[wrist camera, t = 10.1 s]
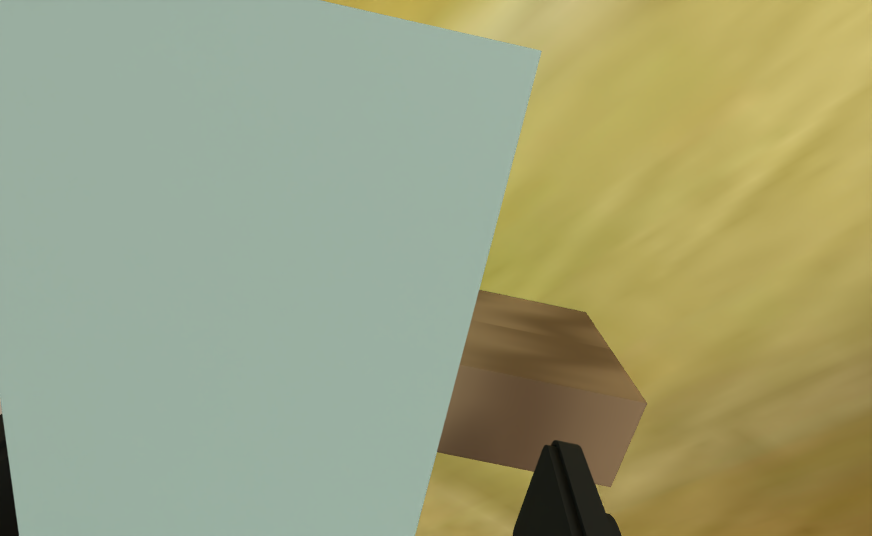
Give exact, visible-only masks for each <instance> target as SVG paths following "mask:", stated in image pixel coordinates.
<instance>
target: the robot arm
mask: <svg viewBox="0 0 872 536" xmlns="http://www.w3.org/2000/svg"><path fill="white" fill-rule="evenodd" d="M0 536H19V531H18V524H17V517H16V509H15V502H14V495H13V487H12V480H11V473H10V466H9V458H8V451H7V444H6V437H5V429H4V422H3V415H2V414H1V415H0ZM513 536H621V533H620V530H619V528H618V525H617V523H616V521H615V519H614V518H613V517H612V516H611V515H610V514H607V513H605V510H604V507H603V505H602V502H601V499H600V497H599V494H598V491H597V488H596V486H595V483H594V480H593V478H592V475H591V472H590V469H589V467H588V464H587V461H586V459H585V456H584V453H583V450H582V448H581V446H579V445H578V444H573V443H568V442H563V441H558V440H554V441H553V442H552V444H551V446H550V445H544V447H543V449H542V451H541V454H540V457H539V460H538V462H537V465H536V468H535V471H534V474H533V476H532V479H531V482H530V485H529V488H528V490H527V493H526V496H525V499H524V502H523V504H522V507H521V510H520V513H519V516H518V519H517V521H516V524H515V527H514V530H513Z"/></svg>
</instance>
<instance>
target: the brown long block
mask: <svg viewBox="0 0 872 536" xmlns="http://www.w3.org/2000/svg"><path fill="white" fill-rule="evenodd" d="M646 405H647V402H646V401H645V400H644V398H643V397H642V395H641V394H640V392H639V391H638V389H637V388H636V386H635V385H634V383H633V382H632V380H631V379H630V377H629V376H628V374H627V373H626V371H625V370H624V368H623V367H622V365H621V364H620V362H619V361H618V359H617V358H616V356H615V355H614V353H613V352H612V351H611V349H610V348H609V346H608V345H607V343H606V342H605V340H604V339H603V337H602V336H601V334H600V333H599V331H598V330H597V328H596V327H595V325H594V324H593V322H592V321H591V319H590V318H589V316H588V315H587V313H586V312H581V311H577V310H572V309H567V308H562V307H558V306H553V305H548V304H543V303H539V302H534V301H529V300H525V299H520V298H515V297H510V296H506V295H501V294H496V293H491V292H487V291H482V290H479V292H478V296H477V300H476V304H475V308H474V311H473V315H472V319H471V323H470V327H469V331H468V334H467V338H466V342H465V346H464V350H463V353H462V357H461V361H460V365H459V369H458V373H457V376H456V380H455V384H454V388H453V392H452V396H451V399H450V403H449V407H448V411H447V415H446V419H445V422H444V426H443V430H442V434H441V438H440V441H439V445H438V449H437V452H439V453H444V454H449V455H454V456H459V457H464V458H469V459H474V460H479V461H484V462H489V463H494V464H499V465H504V466H509V467H514V468H519V469H523V470H528V471H533V472H534V471H535V468H536V465H537V462H538V460H539V457H540V454H541V451H542V449H543V447H544V445H550V446H551V444H552V442H553V441H554V440H558V441H563V442H568V443H573V444H578V445H579V446H581V448H582V450H583V453H584V456H585V459H586V461H587V464H588V467H589V469H590V472H591V475H592V478H593V480H594V483H595V484H598V485H603V486H608V487H611V485H612V483H613V481H614V479H615V476H616V474H617V472H618V469H619V467H620V465H621V462H622V460H623V458H624V455H625V453H626V451H627V449H628V446H629V444H630V442H631V439H632V437H633V435H634V432H635V430H636V428H637V426H638V423H639V421H640V419H641V416H642V414H643V412H644V409H645V407H646Z"/></svg>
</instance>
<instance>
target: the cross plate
mask: <svg viewBox="0 0 872 536" xmlns="http://www.w3.org/2000/svg"><path fill="white" fill-rule="evenodd" d="M540 55H541V51H540V50H536V49H531V48H527V47H522V46H518V45H514V44H509V43H505V42H501V41H496V40H492V39H487V38H483V37H479V36H474V35H470V34H465V33H461V32H457V31H452V30H448V29H443V28H439V27H435V26H430V25H426V24H422V23H417V22H413V21H408V20H404V19H400V18H395V17H391V16H386V15H382V14H378V13H373V12H369V11H365V10H360V9H356V8H351V7H347V6H343V5H338V4H334V3H329V2H325V1H321V0H0V400H1V407H2V415H3V422H4V429H5V437H6V444H7V451H8V458H9V466H10V473H11V480H12V487H13V495H14V502H15V509H16V517H17V524H18V531H19V536H415V533H416V529H417V526H418V522H419V518H420V514H421V510H422V507H423V503H424V499H425V495H426V491H427V487H428V484H429V480H430V476H431V472H432V468H433V464H434V461H435V457H436V453H437V449H438V445H439V441H440V438H441V434H442V430H443V426H444V422H445V419H446V415H447V411H448V407H449V403H450V399H451V396H452V392H453V388H454V384H455V380H456V376H457V373H458V369H459V365H460V361H461V357H462V353H463V350H464V346H465V342H466V338H467V334H468V331H469V327H470V323H471V319H472V315H473V311H474V308H475V304H476V300H477V296H478V292H479V288H480V285H481V281H482V277H483V273H484V269H485V265H486V262H487V258H488V254H489V250H490V246H491V243H492V239H493V235H494V231H495V227H496V223H497V220H498V216H499V212H500V208H501V204H502V200H503V197H504V193H505V189H506V185H507V181H508V177H509V174H510V170H511V166H512V162H513V158H514V155H515V151H516V147H517V143H518V139H519V135H520V132H521V128H522V124H523V120H524V116H525V112H526V109H527V105H528V101H529V97H530V93H531V89H532V86H533V82H534V78H535V74H536V70H537V66H538V63H539V59H540Z"/></svg>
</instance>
